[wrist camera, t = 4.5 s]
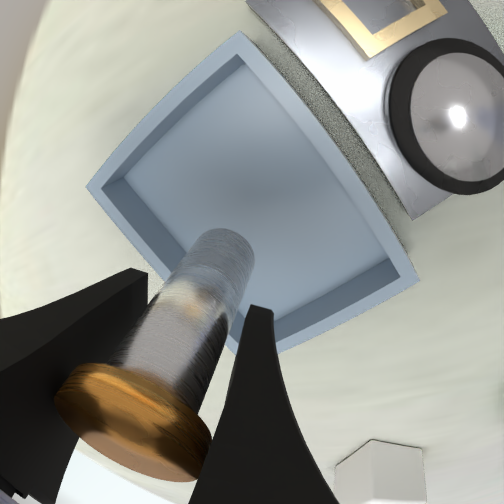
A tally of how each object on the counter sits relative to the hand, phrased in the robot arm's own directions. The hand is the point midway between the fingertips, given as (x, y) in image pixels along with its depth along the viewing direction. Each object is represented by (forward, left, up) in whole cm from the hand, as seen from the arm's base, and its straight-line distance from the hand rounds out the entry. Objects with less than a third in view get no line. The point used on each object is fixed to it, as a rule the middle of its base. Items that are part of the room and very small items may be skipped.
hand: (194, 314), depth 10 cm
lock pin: (0, 0, -3) cm, 3 cm away
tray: (0, 0, -10) cm, 10 cm away
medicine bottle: (-29, +6, -10) cm, 31 cm away
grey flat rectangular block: (+2, -12, -10) cm, 16 cm away
